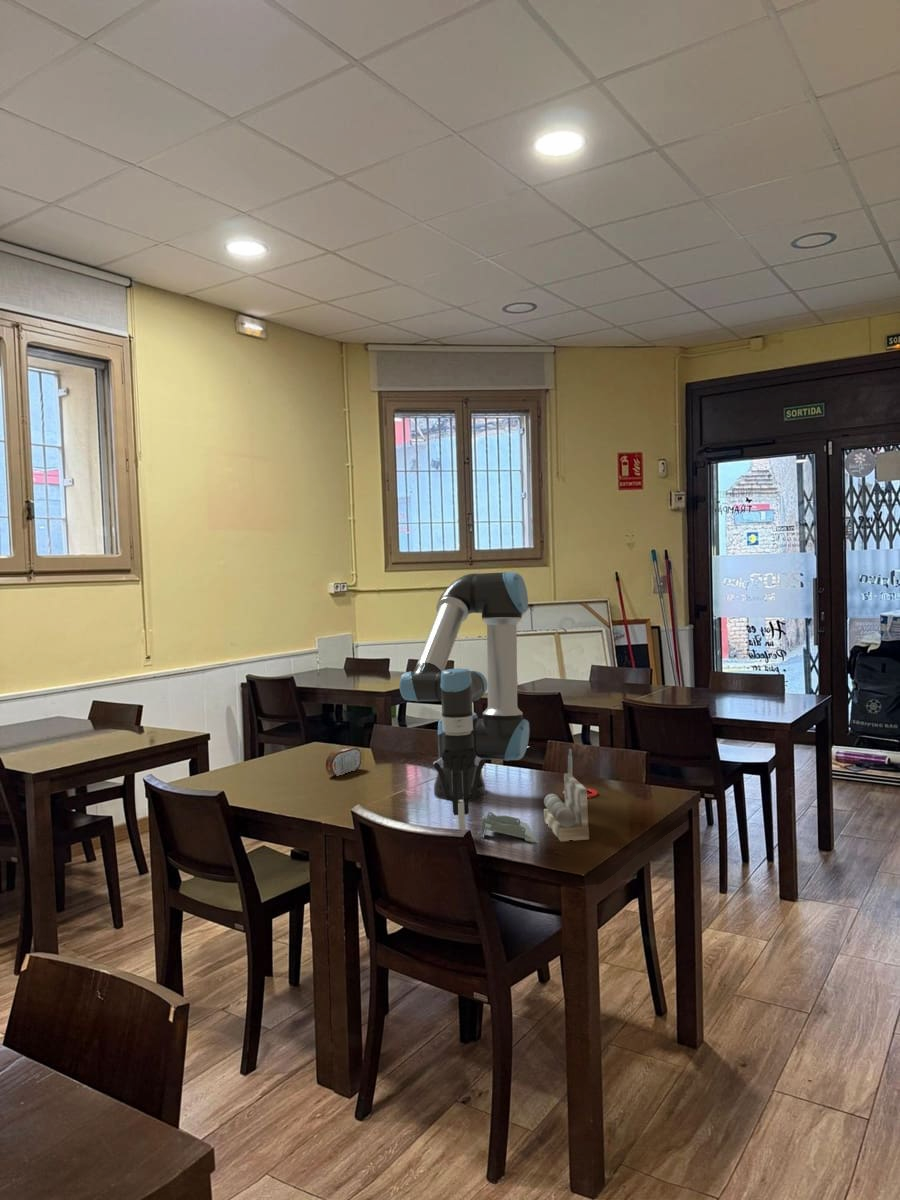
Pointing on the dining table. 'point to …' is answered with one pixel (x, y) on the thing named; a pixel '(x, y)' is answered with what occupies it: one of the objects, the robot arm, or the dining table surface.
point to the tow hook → (572, 775)
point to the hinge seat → (568, 811)
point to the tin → (343, 760)
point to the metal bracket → (506, 826)
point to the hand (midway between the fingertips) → (461, 827)
